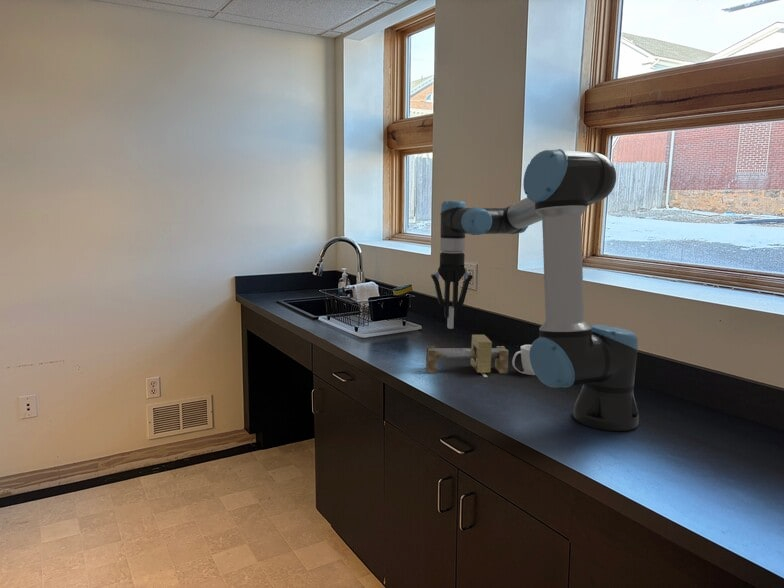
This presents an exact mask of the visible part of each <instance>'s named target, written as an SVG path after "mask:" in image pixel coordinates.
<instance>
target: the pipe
mask: <svg viewBox="0 0 784 588" xmlns="http://www.w3.org/2000/svg"><path fill="white" fill-rule="evenodd" d="M476 349H477V348H471V347H470V348H469V347H468V348H467V347H466V348H465V347H462V348H459V347H457V348H455V347H454V348H453V347H452V348H450V347H447V348H444V347H443V348H440V347H438V348H437V347H435V348H428V354H429V350H437V359H471V358H476ZM500 350H507V348H506V347H505V348H496V347H492V351H491V359H495V358H499V356H500Z"/></svg>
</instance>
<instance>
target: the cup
mask: <svg viewBox="0 0 784 588" xmlns="http://www.w3.org/2000/svg"><path fill="white" fill-rule="evenodd" d="M531 346H532V344H523V345H521V346H520V350H519V351H516V352H515V353H514V355H513V357H512V361H511V364H512V367H513V368H514V370H515V371H517V372H518V373H521V374H523V375H529V376H536V375H535V373H534V371H533V369H532V366H531V363H530V357H529V352H530V347H531ZM518 354H520V357H521V365H522V369H523V370H522V371H520V370H519V368H517V367H516V364H515V361H516V357H517V356H518Z"/></svg>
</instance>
